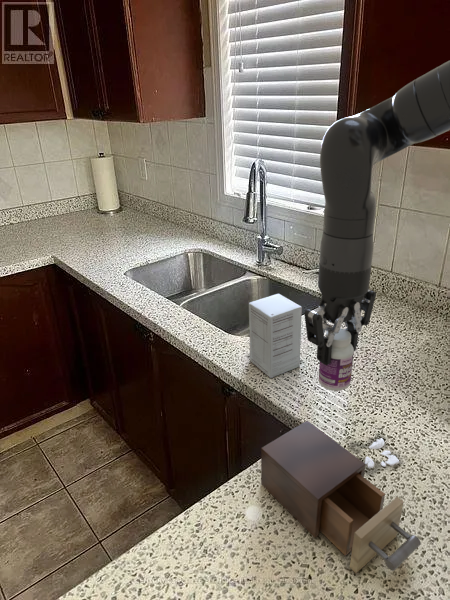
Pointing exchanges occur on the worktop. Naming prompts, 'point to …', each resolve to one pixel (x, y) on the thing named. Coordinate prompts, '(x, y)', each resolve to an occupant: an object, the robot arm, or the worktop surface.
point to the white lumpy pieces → (378, 445)
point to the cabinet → (306, 471)
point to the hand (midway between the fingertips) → (337, 355)
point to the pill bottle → (338, 363)
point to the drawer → (364, 524)
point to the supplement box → (275, 334)
